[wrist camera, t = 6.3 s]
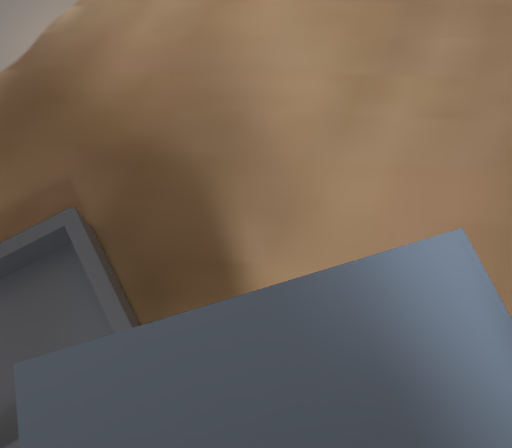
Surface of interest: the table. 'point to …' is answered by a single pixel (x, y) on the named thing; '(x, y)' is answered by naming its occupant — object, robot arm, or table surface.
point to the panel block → (296, 365)
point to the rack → (53, 299)
